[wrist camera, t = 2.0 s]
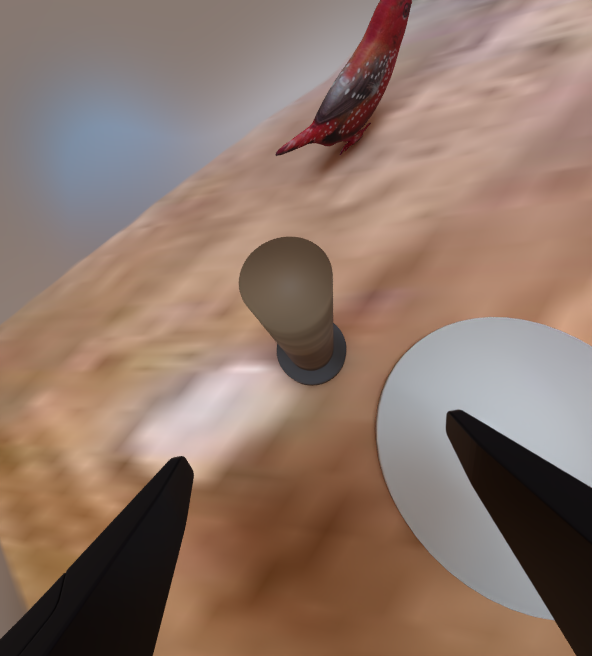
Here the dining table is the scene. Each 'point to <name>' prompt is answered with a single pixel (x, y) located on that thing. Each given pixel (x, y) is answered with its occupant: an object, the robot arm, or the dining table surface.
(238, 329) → the dining table surface
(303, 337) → the brown tapered knob
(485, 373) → the white smooth round part
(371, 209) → the dining table surface
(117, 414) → the dining table surface
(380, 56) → the decorative bird figurine
